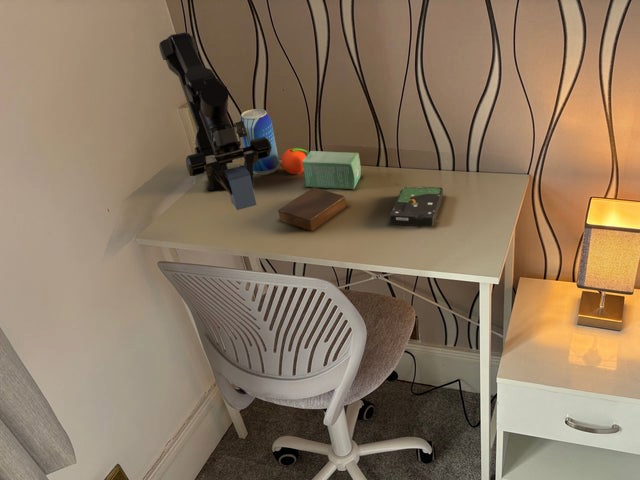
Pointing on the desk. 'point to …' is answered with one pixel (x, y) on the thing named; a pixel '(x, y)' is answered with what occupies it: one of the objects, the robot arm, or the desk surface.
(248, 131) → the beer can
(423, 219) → the disk drive
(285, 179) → the desk surface
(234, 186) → the small box
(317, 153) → the box
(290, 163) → the clementine
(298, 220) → the brown flat block
